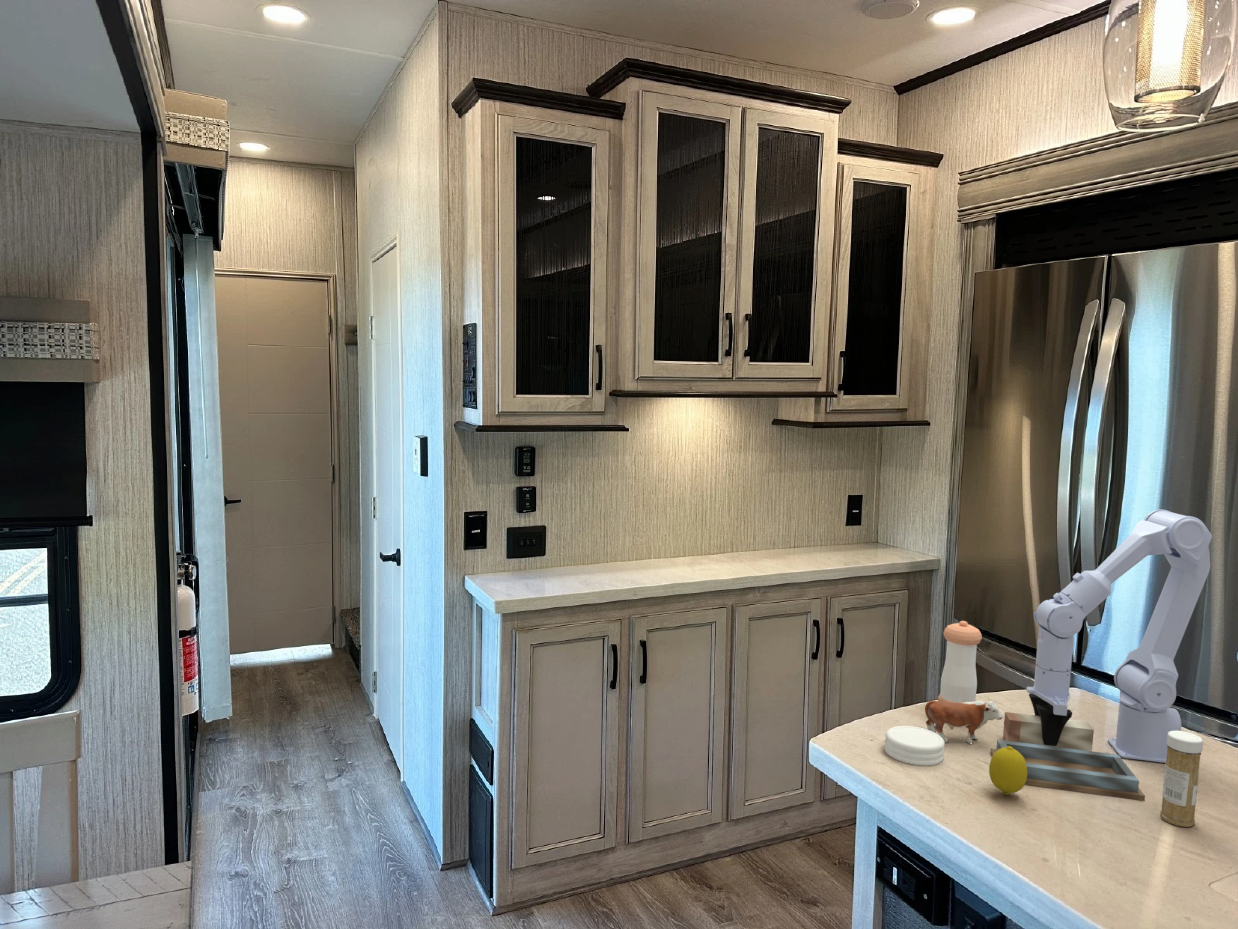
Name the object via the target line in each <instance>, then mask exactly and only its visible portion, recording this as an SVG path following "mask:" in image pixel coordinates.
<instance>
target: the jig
mask: <svg viewBox="0 0 1238 929" xmlns="http://www.w3.org/2000/svg"><path fill="white" fill-rule="evenodd" d="M1008 746H1011V747H1012V748H1013V749H1015V750H1017V751H1018V752H1019V753H1020V754H1021V755H1022V756H1023V757H1024V759H1025V762H1026V766H1027V779H1026V782H1025V785H1024V786H1034V787H1041V788H1048V789H1055V790H1062V791H1063V790H1064V791H1070V792H1071V791H1072V792H1076V793H1077V792H1078V793H1085V794H1092V795H1093V794H1094V795H1100V796H1108V797H1115V798H1122V799H1131V800H1138V801H1143V802H1144V801H1145V799H1146V795H1145V793H1144V792H1143V791H1142V790H1141V789H1140V787H1139V786H1140V785H1139V784H1140V780H1139V779H1138V778H1137V777H1136V775H1135V774H1134V773H1133V771H1132V770H1131V769H1130V767H1129V766H1128V765H1127V764H1126V763H1125V762H1124V760H1123V758H1122V757H1120V756H1119V754H1118V753H1108V752H1099V751H1093V750H1092V751H1085V750H1077V749H1069V748H1061V747H1053V746H1045V745H1037V744H1029V743H1021V742H1012V741H1004V739H997V741H996V748H993V747H992V748H990V752H991V753H990V754H992V755H991V757H992V756H993V754H994V753H995V752H996V751H997V750H999V749H1001V748H1005V747H1008Z"/></svg>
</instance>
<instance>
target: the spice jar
mask: <svg viewBox="0 0 1238 929" xmlns="http://www.w3.org/2000/svg"><path fill="white" fill-rule="evenodd" d="M1203 747H1204V740H1203V738H1202V737H1200V736H1199V735H1198V734H1195V733H1191V732H1188V731H1183V730H1181V731H1170V732H1168V735H1167V758H1166V763H1165V764H1164V775H1163V784H1162V786H1163V787H1162V794H1161V795H1162V800H1161V802H1162V803H1161V810H1160V814H1159V815H1160V816H1159V817H1160V818H1162V820H1164V822H1165V821H1166V822H1167V823H1169V824H1171V825H1174V826H1178V827H1192V826H1194V825H1195V823H1196V820H1195V815H1196V806H1197V800H1198V788H1199V771H1200V762H1201V760H1200V759H1201V755H1202V752H1203Z"/></svg>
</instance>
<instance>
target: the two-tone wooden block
mask: <svg viewBox="0 0 1238 929" xmlns="http://www.w3.org/2000/svg"><path fill="white" fill-rule="evenodd" d="M1003 718H1004V720H1003V732H1002V740H1004V741H1012V742H1021V743H1029V744H1037V745H1044V743H1043V739H1042V726H1041V719H1040V716H1035V714H1026V713H1016V712H1010V711H1009V712H1008V711H1005V712H1004V717H1003ZM1094 734H1095V729H1094V728H1093V726H1092V725H1091V724H1090V723H1089V721H1087V720H1086V721H1085V720H1076V719H1071V718H1070V719H1069V720H1068V721H1067V723H1066V724H1065V726H1064V728H1063V730H1062V733H1061V735H1060V738H1059V741H1058V744H1057V746H1053V747H1061V748H1069V749H1077V750H1085V751H1093V743H1094ZM1045 746H1051V745H1045Z"/></svg>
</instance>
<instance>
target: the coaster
mask: <svg viewBox="0 0 1238 929" xmlns="http://www.w3.org/2000/svg"><path fill="white" fill-rule="evenodd" d="M884 736H885V740H884V751H885V753H886V754H887V756H889V757H891V758H892V759H894V760H896V761H898V760H899V761H898V762H901V761H902V762H901V763H904V764H908V763H910V764H909V765H912V764H913V765H915V766H923V767H929V766H935V765H938V764H941V763H942V762H943V761H944V758H945V755H944V753H945V746H946V743H945V742H944V740H943V738H942V737H941V736H940V735H939V733H937V732H936V733H934V732H932V731H930V730H928V729H927V728H922V727H919V726H918V727H917V726H912V725H898V726H892V727H890V728H888V729H887V730H886V732H885V735H884Z"/></svg>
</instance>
